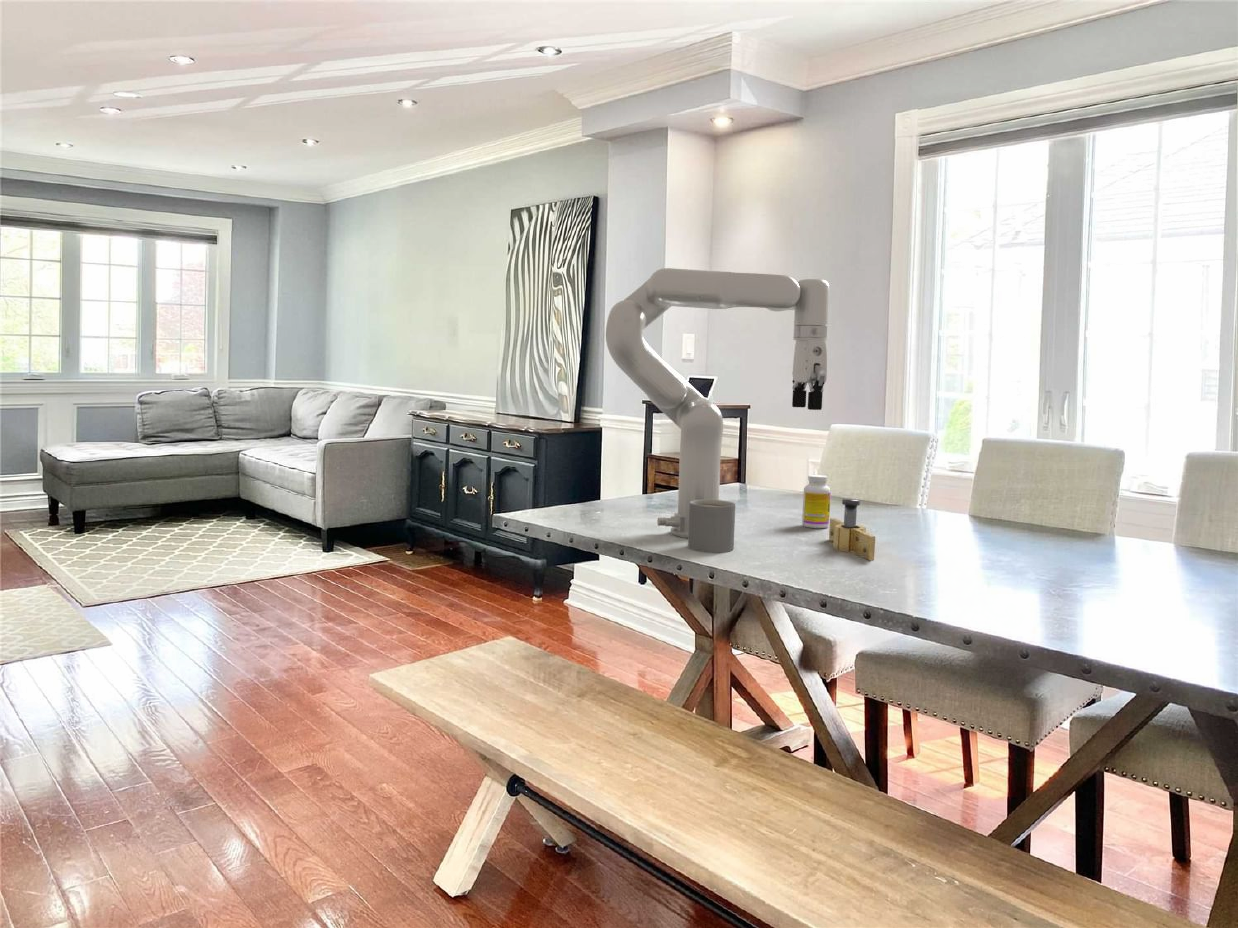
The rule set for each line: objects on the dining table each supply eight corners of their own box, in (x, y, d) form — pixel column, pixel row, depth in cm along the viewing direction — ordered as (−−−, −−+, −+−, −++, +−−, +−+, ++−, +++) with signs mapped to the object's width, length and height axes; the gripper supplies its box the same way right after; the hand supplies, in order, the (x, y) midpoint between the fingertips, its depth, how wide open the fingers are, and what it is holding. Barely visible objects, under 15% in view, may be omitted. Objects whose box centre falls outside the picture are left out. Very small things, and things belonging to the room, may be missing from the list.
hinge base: (857, 560, 195) (858, 536, 195) (829, 545, 210) (830, 524, 209) (885, 559, 197) (886, 536, 196) (856, 545, 211) (857, 523, 210)
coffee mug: (723, 554, 197) (725, 508, 196) (680, 549, 202) (682, 503, 201) (745, 544, 209) (747, 500, 208) (704, 539, 214) (705, 496, 213)
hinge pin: (844, 550, 205) (846, 501, 204) (836, 547, 209) (839, 498, 207) (860, 550, 206) (863, 501, 204) (852, 546, 209) (855, 498, 208)
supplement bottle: (831, 529, 231) (834, 477, 229) (804, 528, 231) (807, 477, 229) (825, 524, 237) (828, 474, 236) (799, 523, 237) (802, 473, 236)
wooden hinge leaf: (846, 545, 211) (847, 523, 210) (839, 545, 210) (840, 523, 210) (834, 539, 217) (835, 518, 217) (828, 539, 217) (829, 518, 217)
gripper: (840, 333, 206) (836, 411, 208) (811, 335, 223) (807, 406, 225) (808, 332, 205) (805, 410, 207) (781, 334, 222) (778, 406, 224)
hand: (806, 408), depth 216 cm, fingers open, 9 cm apart
